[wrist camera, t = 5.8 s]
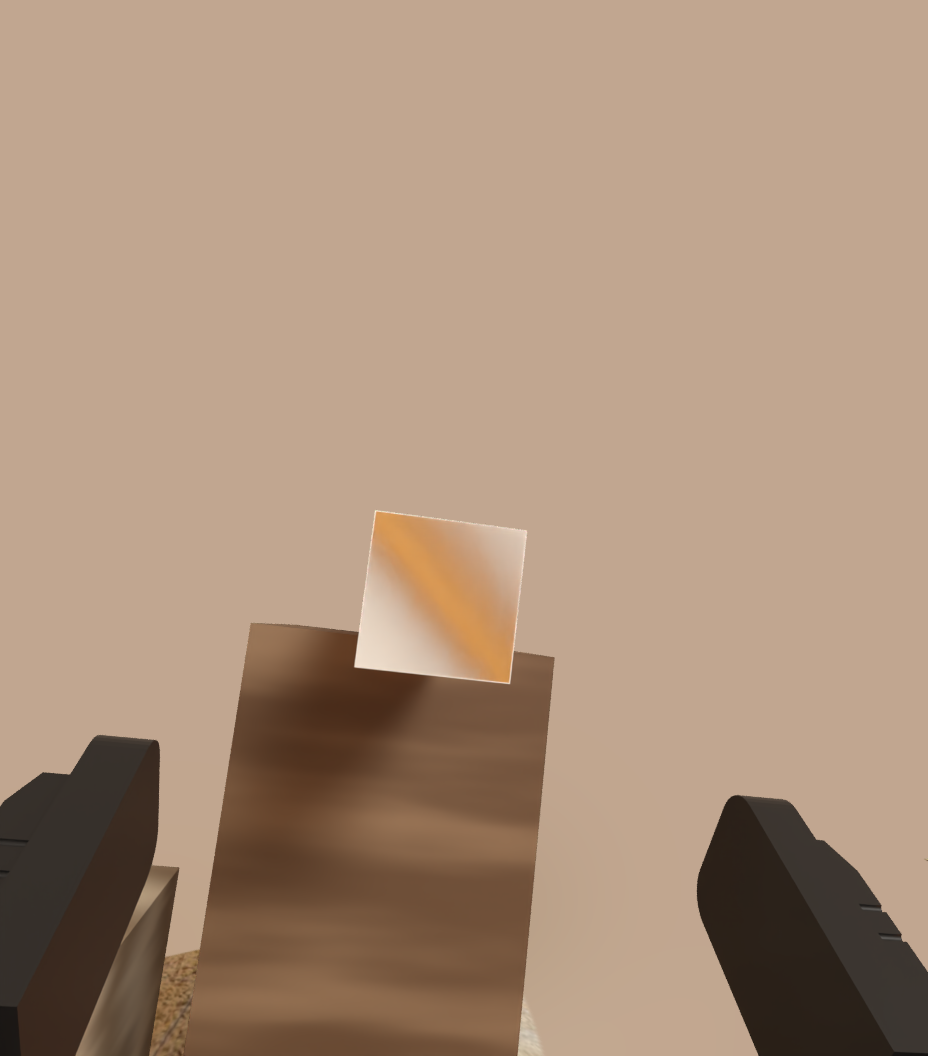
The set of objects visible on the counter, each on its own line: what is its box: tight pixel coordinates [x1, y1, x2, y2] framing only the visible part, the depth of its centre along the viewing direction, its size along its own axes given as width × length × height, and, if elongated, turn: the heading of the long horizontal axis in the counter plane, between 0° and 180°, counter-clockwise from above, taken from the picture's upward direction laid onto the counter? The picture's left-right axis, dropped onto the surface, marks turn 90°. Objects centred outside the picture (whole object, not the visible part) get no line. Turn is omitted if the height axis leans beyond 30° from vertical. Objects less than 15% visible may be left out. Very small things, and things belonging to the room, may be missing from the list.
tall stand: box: [184, 623, 554, 1056], centre depth 29 cm, size 16×10×33 cm, turn 8°
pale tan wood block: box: [354, 510, 527, 684], centre depth 27 cm, size 26×3×3 cm, turn 8°
